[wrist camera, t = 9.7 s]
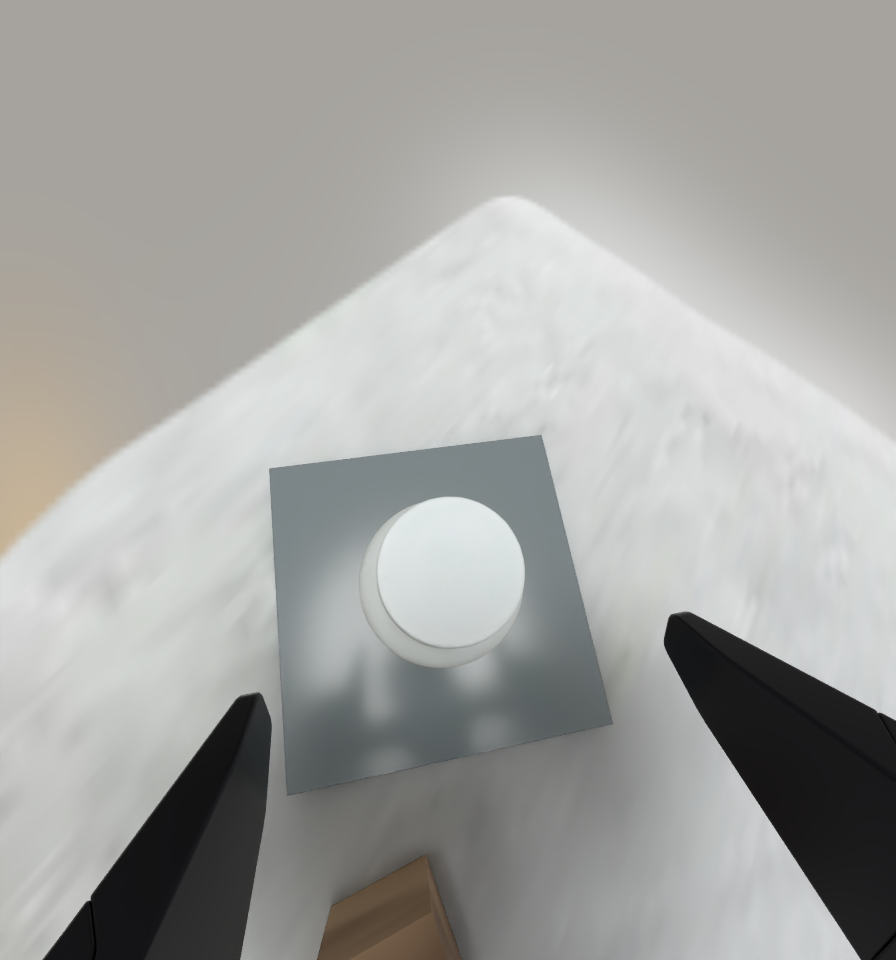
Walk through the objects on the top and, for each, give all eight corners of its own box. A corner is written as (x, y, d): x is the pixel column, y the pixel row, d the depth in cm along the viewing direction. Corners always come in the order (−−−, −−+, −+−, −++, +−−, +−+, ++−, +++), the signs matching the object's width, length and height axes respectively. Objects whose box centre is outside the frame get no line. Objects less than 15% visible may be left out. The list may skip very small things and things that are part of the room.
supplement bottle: (372, 658, 20) (342, 685, 11) (373, 538, 21) (348, 473, 12) (492, 652, 20) (561, 673, 11) (484, 535, 22) (539, 470, 13)
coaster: (607, 721, 20) (612, 723, 20) (290, 790, 19) (287, 795, 18) (538, 439, 25) (541, 435, 24) (272, 472, 23) (269, 468, 22)
